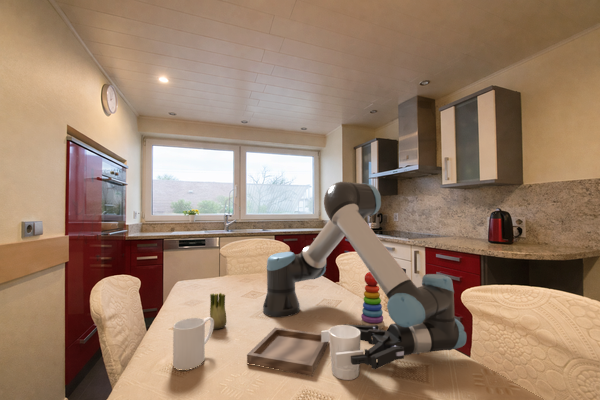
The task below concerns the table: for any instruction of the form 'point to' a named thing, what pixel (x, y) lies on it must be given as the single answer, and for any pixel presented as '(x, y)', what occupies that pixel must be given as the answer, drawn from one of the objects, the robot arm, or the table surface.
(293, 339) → the tray
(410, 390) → the table surface
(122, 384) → the table surface
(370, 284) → the stacking toy
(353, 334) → the white cup
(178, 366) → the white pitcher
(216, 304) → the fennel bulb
